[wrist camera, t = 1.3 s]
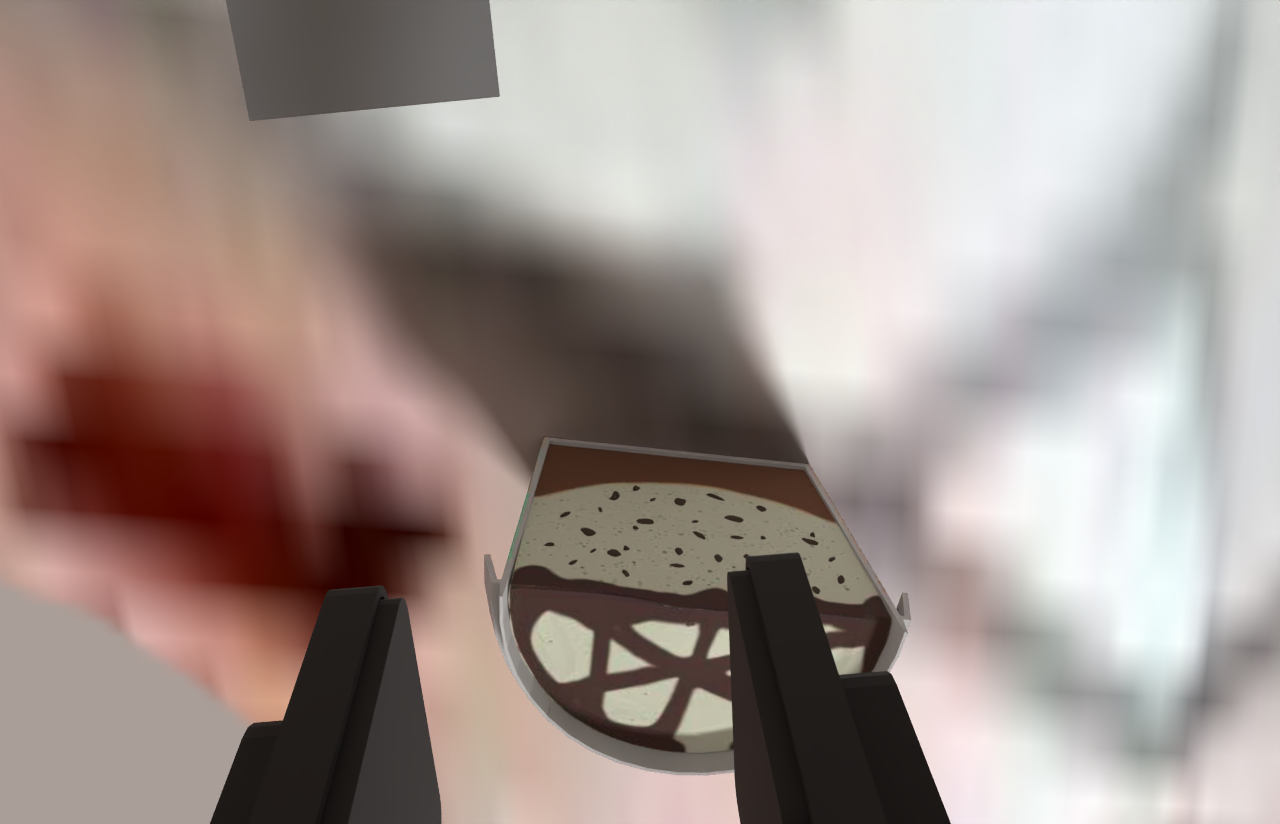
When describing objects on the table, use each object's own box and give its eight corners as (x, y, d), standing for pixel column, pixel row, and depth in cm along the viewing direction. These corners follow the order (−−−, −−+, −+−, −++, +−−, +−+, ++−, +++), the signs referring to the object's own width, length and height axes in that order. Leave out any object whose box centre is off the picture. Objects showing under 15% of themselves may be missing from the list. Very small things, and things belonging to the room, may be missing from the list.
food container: (484, 584, 44) (461, 775, 35) (499, 432, 41) (479, 594, 32) (816, 614, 45) (878, 805, 36) (850, 468, 42) (926, 634, 33)
